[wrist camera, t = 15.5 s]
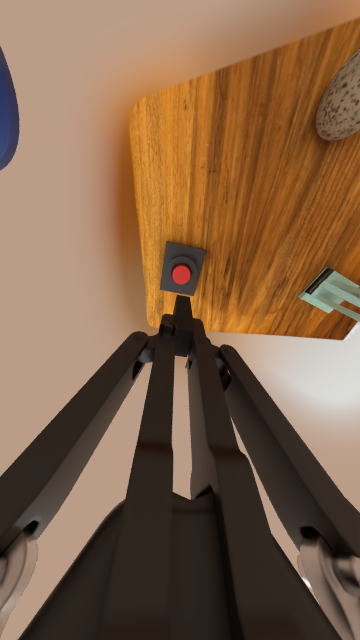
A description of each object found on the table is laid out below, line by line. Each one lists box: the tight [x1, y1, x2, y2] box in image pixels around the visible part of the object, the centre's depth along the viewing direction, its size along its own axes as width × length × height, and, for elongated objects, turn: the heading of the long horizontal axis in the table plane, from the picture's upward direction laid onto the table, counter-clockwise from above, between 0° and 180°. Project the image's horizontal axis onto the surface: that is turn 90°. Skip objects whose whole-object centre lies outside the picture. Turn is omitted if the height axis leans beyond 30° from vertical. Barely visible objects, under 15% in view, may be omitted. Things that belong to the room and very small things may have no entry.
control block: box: [160, 241, 206, 296], centre depth 32 cm, size 10×8×4 cm
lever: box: [305, 268, 360, 308], centre depth 27 cm, size 14×5×2 cm, turn 65°
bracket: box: [298, 267, 360, 322], centre depth 30 cm, size 10×8×14 cm
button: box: [172, 264, 190, 284], centre depth 30 cm, size 4×4×2 cm
